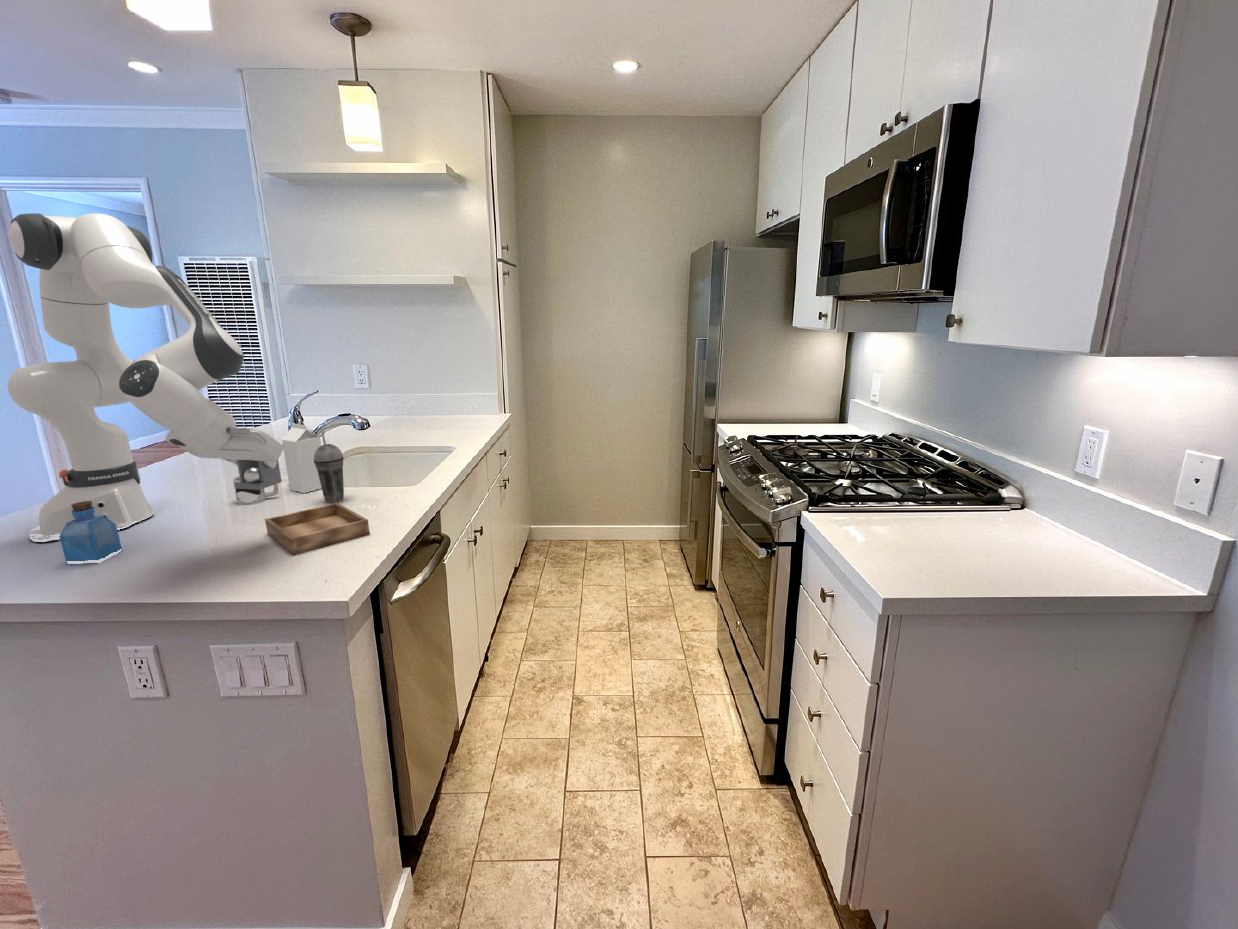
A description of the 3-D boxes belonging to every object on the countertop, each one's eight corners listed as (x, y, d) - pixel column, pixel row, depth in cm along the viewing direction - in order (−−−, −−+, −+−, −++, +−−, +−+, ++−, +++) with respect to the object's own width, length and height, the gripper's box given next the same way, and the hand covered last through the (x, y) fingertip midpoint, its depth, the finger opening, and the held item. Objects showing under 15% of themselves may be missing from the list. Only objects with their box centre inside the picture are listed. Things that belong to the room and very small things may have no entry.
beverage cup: (354, 496, 158) (345, 425, 153) (339, 505, 151) (329, 430, 146) (329, 496, 159) (319, 425, 154) (313, 504, 152) (302, 430, 147)
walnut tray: (293, 555, 120) (290, 539, 119) (267, 533, 132) (264, 519, 131) (369, 534, 131) (367, 519, 130) (339, 516, 143) (337, 502, 142)
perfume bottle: (91, 553, 122) (77, 499, 119) (122, 551, 123) (109, 498, 120) (67, 565, 116) (51, 509, 113) (99, 563, 117) (85, 508, 114)
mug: (235, 506, 152) (230, 482, 150) (239, 499, 157) (235, 476, 156) (278, 501, 155) (274, 477, 154) (281, 494, 161) (277, 471, 160)
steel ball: (253, 489, 122) (244, 482, 118) (246, 477, 123) (237, 470, 120) (269, 480, 123) (260, 473, 120) (262, 469, 124) (254, 461, 121)
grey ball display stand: (259, 489, 120) (252, 452, 118) (235, 488, 121) (228, 451, 119) (281, 481, 125) (275, 446, 123) (258, 480, 127) (252, 445, 125)
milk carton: (303, 494, 161) (293, 427, 157) (289, 490, 165) (279, 425, 160) (327, 487, 167) (318, 423, 162) (313, 484, 171) (304, 421, 166)
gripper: (260, 416, 110) (305, 453, 122) (175, 413, 115) (226, 450, 126) (245, 443, 107) (293, 479, 119) (158, 440, 112) (212, 475, 123)
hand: (258, 464), depth 123 cm, fingers closed on grey ball display stand, 6 cm apart
